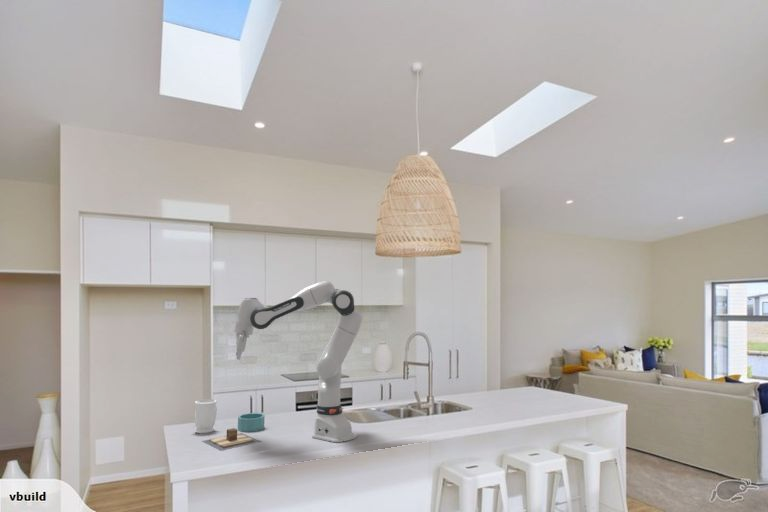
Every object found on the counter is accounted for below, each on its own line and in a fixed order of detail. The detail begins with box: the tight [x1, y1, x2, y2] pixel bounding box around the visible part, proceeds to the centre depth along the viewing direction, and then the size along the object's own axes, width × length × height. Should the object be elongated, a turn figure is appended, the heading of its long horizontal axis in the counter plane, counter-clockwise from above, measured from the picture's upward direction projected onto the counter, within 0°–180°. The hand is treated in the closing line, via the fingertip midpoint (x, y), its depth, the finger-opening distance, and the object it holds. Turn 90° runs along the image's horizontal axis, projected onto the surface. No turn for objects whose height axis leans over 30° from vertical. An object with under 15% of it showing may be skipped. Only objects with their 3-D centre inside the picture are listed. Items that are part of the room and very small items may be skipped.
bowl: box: [237, 412, 265, 433], centre depth 247 cm, size 13×13×6 cm
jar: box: [194, 398, 218, 434], centre depth 243 cm, size 11×10×15 cm
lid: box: [208, 427, 254, 448], centre depth 224 cm, size 15×15×5 cm
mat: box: [201, 432, 263, 452], centre depth 224 cm, size 20×20×1 cm
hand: (237, 357), depth 237 cm, fingers open, 8 cm apart
